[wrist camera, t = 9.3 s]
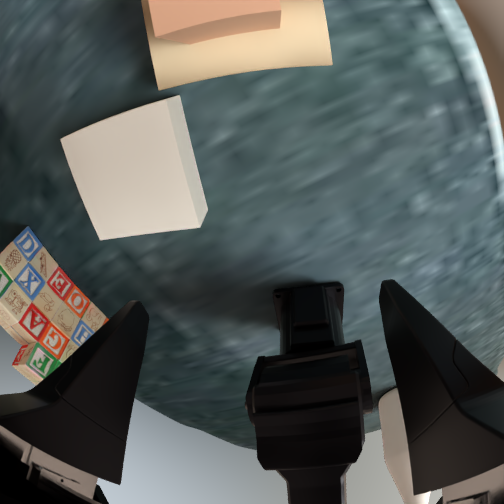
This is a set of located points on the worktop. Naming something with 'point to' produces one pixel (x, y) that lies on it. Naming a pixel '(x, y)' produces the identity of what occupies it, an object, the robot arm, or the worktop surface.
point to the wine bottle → (397, 447)
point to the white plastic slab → (138, 171)
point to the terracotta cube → (212, 18)
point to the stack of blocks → (42, 308)
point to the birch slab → (244, 47)
